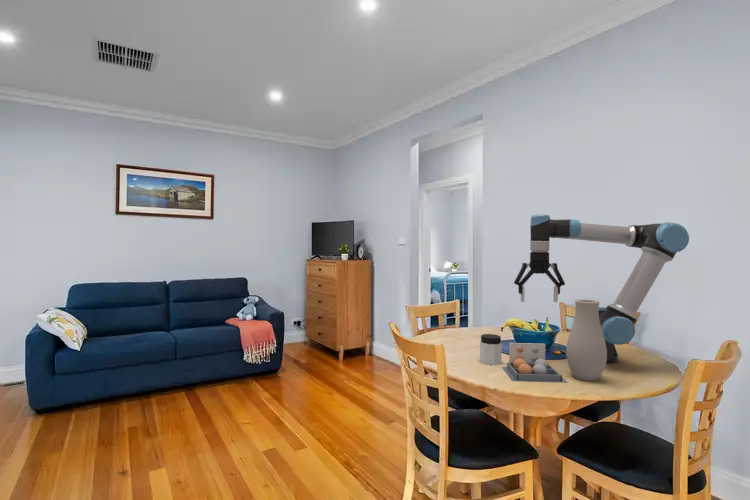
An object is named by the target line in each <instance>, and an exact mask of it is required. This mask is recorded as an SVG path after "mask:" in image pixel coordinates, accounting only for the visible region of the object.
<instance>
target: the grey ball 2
mask: <svg viewBox="0 0 750 500" xmlns="http://www.w3.org/2000/svg"><path fill="white" fill-rule="evenodd" d="M532 371H533V374H542V375H546V373H547V370H546V368H545V366H544V365H542V364H536V365H534V367H533V369H532Z"/></svg>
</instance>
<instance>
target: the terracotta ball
mask: <svg viewBox="0 0 750 500" xmlns="http://www.w3.org/2000/svg"><path fill="white" fill-rule="evenodd" d="M521 364H526V362H525V360H523V359H521V358H518V359H516V360H515V361H514V363H513V366H514V368H518V367H519V366H520V365H521Z"/></svg>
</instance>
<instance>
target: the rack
mask: <svg viewBox="0 0 750 500" xmlns="http://www.w3.org/2000/svg"><path fill="white" fill-rule="evenodd" d="M508 344H509V345H508V346H509V351H508V352H509V353H508V354H509V355H508V359H509V360H508V362H506V366H501V368H502V370H503V371H504V373H505V374H506V376H508V378H509V379H510V381H512V382H524V383H525V382H527V383H528V382H529V383H560V384H561V383H562V384H565V383H566V384H567V383H568V384H569V381H568V380H566V379H565V378H564V377H563V375H562V374H561V373H560V372H558V371H557V370H556V369H555V368H554V367H553V366H552V365H550V364H549V363H547V364H548V368H547V369H546V370H547V373H546V375H542V374H533V371H532V374H519V373H518V368H514V366H513V363H514V361H515V360H516V359H518V358H521V359H523V360H525V362H526V364H528V365H529V366H530V367H531V369H533V367H534V363H535V361H536V360H537V359H543V360H545V361H546V343H539V342H538V343H536V342H535V343H534V342H527V343H525V342H509V343H508Z"/></svg>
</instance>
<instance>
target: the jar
mask: <svg viewBox="0 0 750 500" xmlns="http://www.w3.org/2000/svg"><path fill="white" fill-rule="evenodd" d="M501 342H502V337H501V336H500V335H498V334H492V333H484V334H481V335H480V340H479V362H481V363H482V364H483V365H491V366H497V365H500V364H502V358H503V357H502V355H503V353H502V351H503V350H502V347H503V344H502V343H501Z"/></svg>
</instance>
